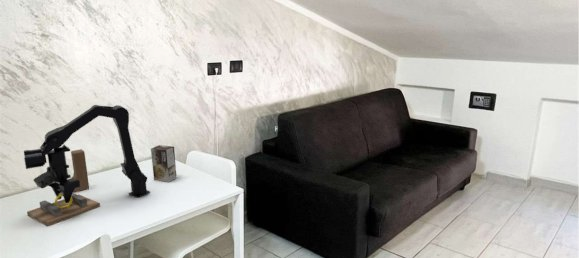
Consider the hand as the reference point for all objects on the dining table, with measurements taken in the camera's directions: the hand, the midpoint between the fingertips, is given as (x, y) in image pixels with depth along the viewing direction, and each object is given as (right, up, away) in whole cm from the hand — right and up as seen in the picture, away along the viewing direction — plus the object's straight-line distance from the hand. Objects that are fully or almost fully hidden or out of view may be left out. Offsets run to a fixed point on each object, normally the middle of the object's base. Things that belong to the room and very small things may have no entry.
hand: (63, 201), depth 150 cm
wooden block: (-7, +1, +21) cm, 22 cm away
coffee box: (+29, +4, +35) cm, 46 cm away
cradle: (0, -4, +1) cm, 4 cm away
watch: (0, -3, +1) cm, 3 cm away
